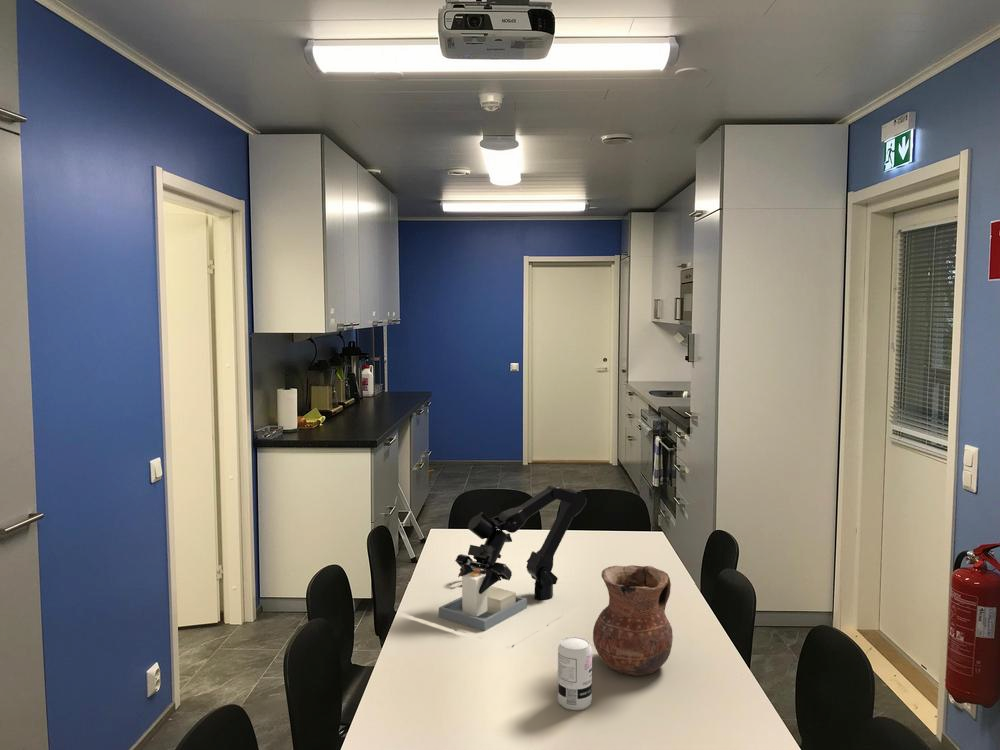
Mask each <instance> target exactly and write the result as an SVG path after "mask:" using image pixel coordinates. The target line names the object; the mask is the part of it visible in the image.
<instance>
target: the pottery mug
mask: <svg viewBox="0 0 1000 750" xmlns="http://www.w3.org/2000/svg"><path fill="white" fill-rule="evenodd" d="M474 571H475V572H478V573H481V574H485V575H486V570H483V569H478V568H475V569H474ZM464 575H465V570H464V569H462V568H461V567H460V569H459V573H458V578H460V577H461V578H462V576H464Z"/></svg>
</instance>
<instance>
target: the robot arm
mask: <svg viewBox="0 0 1000 750" xmlns="http://www.w3.org/2000/svg"><path fill="white" fill-rule="evenodd" d="M555 500H559V501H560V502H559V512H558V514H557V516H556V517H555V520H554V522H553V524H552V526H551V527H550V530H549V532H548V534H547V536H546V537H545V539H544V542H543V543H542V545H541V547H540V549H539V550H537V551H536V552H535V551H531V552H530V556H529V558H528V559H527V560H526V563H527V564H526V571H527V573H528V574H529V575H530V576H531V579H533V580H535V581H534V600H536V601H540V602H541V601H547V600H552V599H553V596H554V585H556V584H557V581H558V579H559V578H558V576H556V575H555V574H554V573H553V572H552V571H553V568H554V557H555V554H556V552H557V550H558V548H559V546H560V543H562V540H563V538H564V536H565V533H566V532H567V530H568V528H569V526H570V525H571V522H572V520H573V519H574V517H576V516H577V515H578V514H579V513H581V512H582V510H583V509H584V507H585V506H586V504H587V502H588V498H587V495H586V493H585V492H584V491H581V490H579V489H576V488H573V487H568V488H563V487H559V486H555V485H554V484H551V485H549V486H547V487H546V488H545V489H544V490H542V491H540V492H539V493H537V494H536V495H534V496H533V497H532V498H530V499H528V500H527V501H525V502H524V503H522V504H521V505H518V506H516V507H510V508H509V509H506V510H504V511H501V512H500V513H499V514H498V515H496V516H493V517H491V518H489V516H487V515H486V514H485V513H484V512H482V511H480V512H479V514H477V515H475V516H473V517H472V518H471V519H470V520H469V522H468V525H467V529H468V530H469V531H470V532H472V533H473V534H474V535H475V536H477V537H478V538H479V539H481V540H485V542H484V544H483V543H482V544H480V545H479V546H477V545H473V544H469V549H468V551H467V555H466V554H462V553H460V554H458V555H457V556H456V558H455V560H454V562H456V564H457V565H458V566H459V567H460V568H462V569H464V570H465V575H466V574H469V573H471V572H475V571H474V569H475V568H478V569H481V570H486V574H485V575H486V576H485V578H484V580H483V583H482V585H481V587H480V590H479V594H482V593H483V592H484V591H485V590H487V589H488V588H489V587H490V586H493V585H494V584H495V583H497V582H501V581H502V580H506V581H510V580H511V578H512V576H513V575H512V574H513V571H512V570H511V568H510V567H508V565H507V564H506V563H502V562H497V560H498V559H501V558H502V555H501V551H502V550H503V547H504V546H505V543H512V542H513V539H512V537H511V534H513V533H516V532H518V530H519V529H521V528H522V527H523V526H524V525H525V523H526V522H527V520H528V519H529V518H530V517H531V516H533V515H534V514H536V513H538V512H539V511H540V510H542V509H544V508H545V507H547V506H548V505H549V504H552V503H553V502H554V501H555ZM504 531H505V532H504ZM506 532H507V533H506ZM470 556H472V557H473V559H474V560H473V559H472V558H471V557H470ZM475 560H476V561H475Z"/></svg>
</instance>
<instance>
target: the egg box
mask: <svg viewBox="0 0 1000 750" xmlns="http://www.w3.org/2000/svg"><path fill="white" fill-rule="evenodd" d="M516 596H517V592H516V591H512V590H508V589H504V588H500V587H498V586H497V587H496V586H493V585H492V586H490V587H489V588H488V589H487V608H488V611H487V612H489V613H493V614H495V613H497V612H499V611H501V610H503V609H505V608H506V607H508V606H510V605H512V604H514V603H516Z"/></svg>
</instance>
